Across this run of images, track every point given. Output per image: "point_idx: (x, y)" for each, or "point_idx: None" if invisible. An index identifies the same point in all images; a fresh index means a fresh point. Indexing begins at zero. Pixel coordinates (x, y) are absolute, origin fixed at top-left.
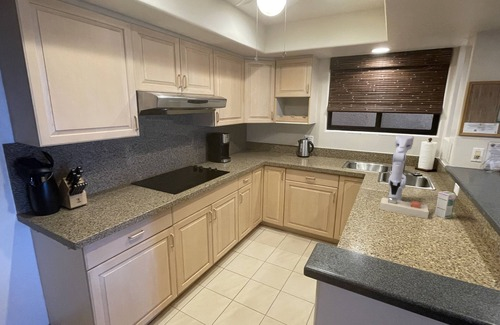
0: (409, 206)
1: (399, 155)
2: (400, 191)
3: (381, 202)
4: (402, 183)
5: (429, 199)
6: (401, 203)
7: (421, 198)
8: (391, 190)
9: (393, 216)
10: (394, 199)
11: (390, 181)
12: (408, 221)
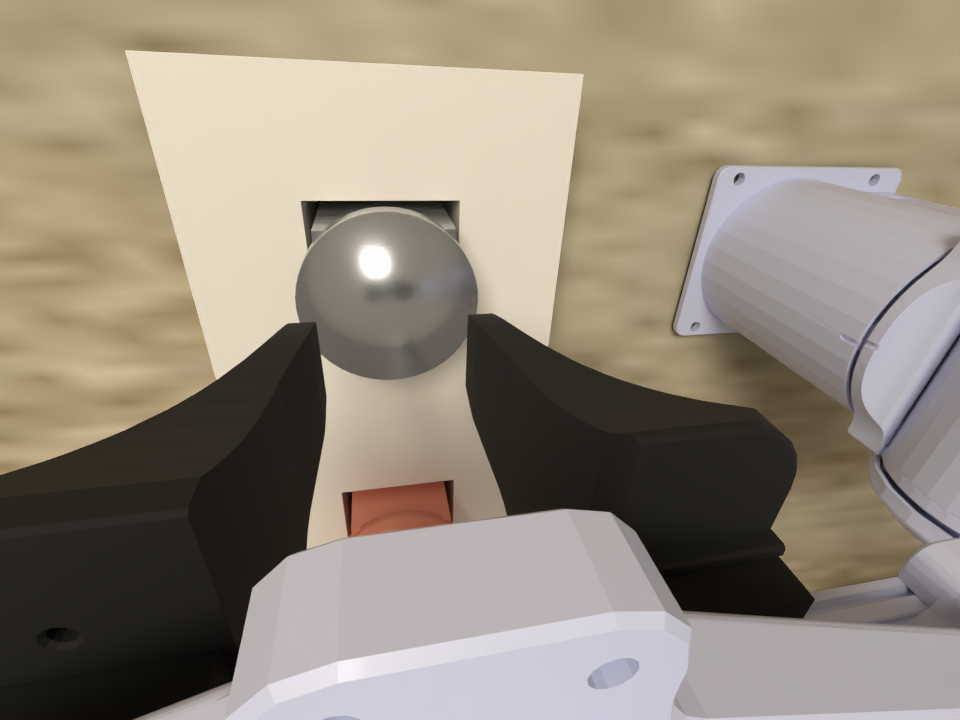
0: (344, 480)
1: None
2: (815, 383)
3: (177, 70)
4: (952, 510)
5: (848, 510)
6: (407, 394)
7: (864, 466)
8: (229, 374)
9: (8, 290)
10: (333, 335)
11: (640, 450)
12: (12, 450)
